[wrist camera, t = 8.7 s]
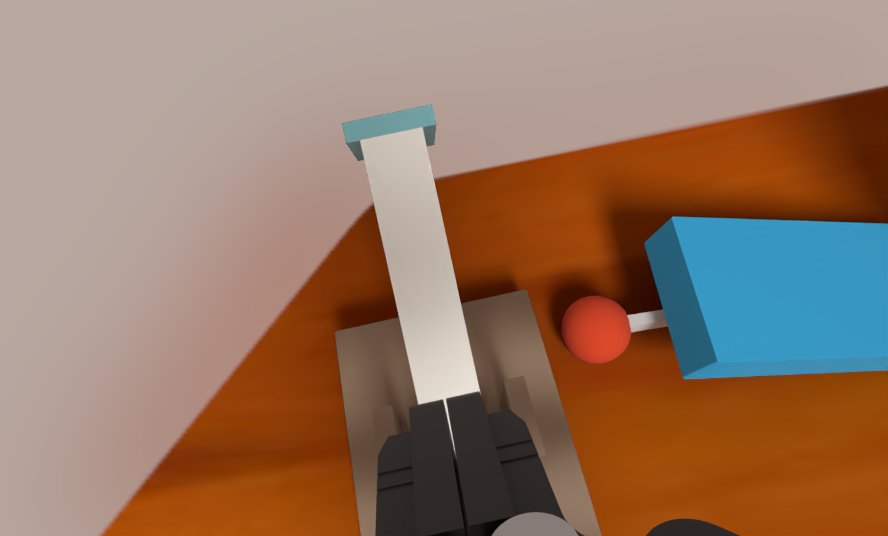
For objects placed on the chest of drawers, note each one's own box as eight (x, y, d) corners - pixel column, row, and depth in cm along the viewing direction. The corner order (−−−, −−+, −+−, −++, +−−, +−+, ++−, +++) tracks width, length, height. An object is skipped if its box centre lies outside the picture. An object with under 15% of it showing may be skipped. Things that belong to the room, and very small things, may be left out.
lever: (809, 282, 35) (540, 281, 30) (915, 224, 29) (597, 213, 24) (855, 391, 32) (564, 407, 27) (985, 353, 26) (636, 365, 21)
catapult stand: (611, 595, 24) (655, 617, 18) (385, 650, 24) (349, 691, 17) (524, 303, 30) (534, 242, 24) (343, 343, 30) (306, 292, 24)
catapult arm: (508, 459, 22) (431, 103, 22) (420, 479, 22) (341, 122, 22) (495, 427, 26) (430, 127, 26) (421, 444, 26) (354, 143, 26)
